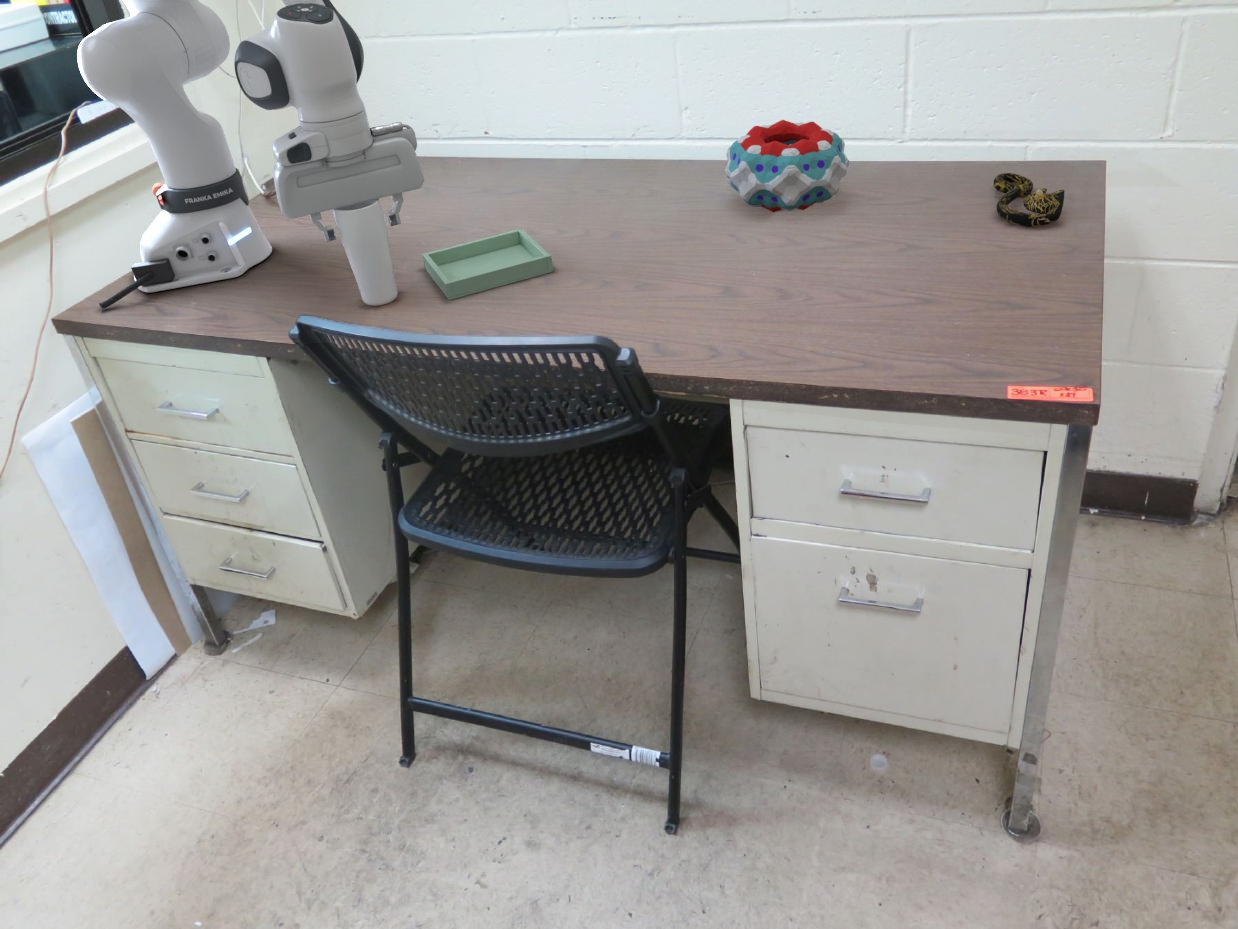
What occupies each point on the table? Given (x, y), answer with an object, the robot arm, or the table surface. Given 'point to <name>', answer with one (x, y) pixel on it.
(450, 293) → the tray
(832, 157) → the decorative model
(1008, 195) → the rubber snake
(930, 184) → the table surface
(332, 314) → the table surface
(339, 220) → the drinking glass
